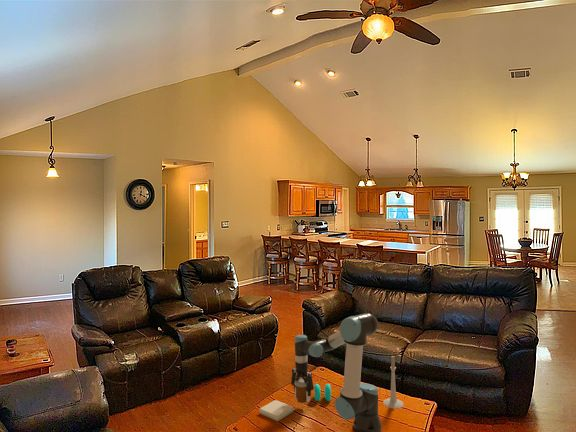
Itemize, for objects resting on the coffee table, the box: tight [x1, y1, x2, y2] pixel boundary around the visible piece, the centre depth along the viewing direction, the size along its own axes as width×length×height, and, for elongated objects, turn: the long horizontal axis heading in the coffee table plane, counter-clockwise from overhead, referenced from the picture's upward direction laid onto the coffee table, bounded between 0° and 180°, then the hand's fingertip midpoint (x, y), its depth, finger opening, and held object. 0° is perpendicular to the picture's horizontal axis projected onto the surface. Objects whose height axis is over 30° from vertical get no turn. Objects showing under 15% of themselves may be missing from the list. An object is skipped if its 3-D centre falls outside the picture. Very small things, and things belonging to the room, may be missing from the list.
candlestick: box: [382, 355, 404, 410], centre depth 249 cm, size 13×13×30 cm
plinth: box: [259, 399, 294, 422], centre depth 241 cm, size 14×14×3 cm
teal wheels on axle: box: [313, 383, 332, 402], centre depth 256 cm, size 10×10×10 cm
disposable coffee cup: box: [294, 377, 308, 404], centre depth 246 cm, size 10×10×12 cm
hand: (302, 399), depth 246 cm, fingers closed on disposable coffee cup, 8 cm apart
